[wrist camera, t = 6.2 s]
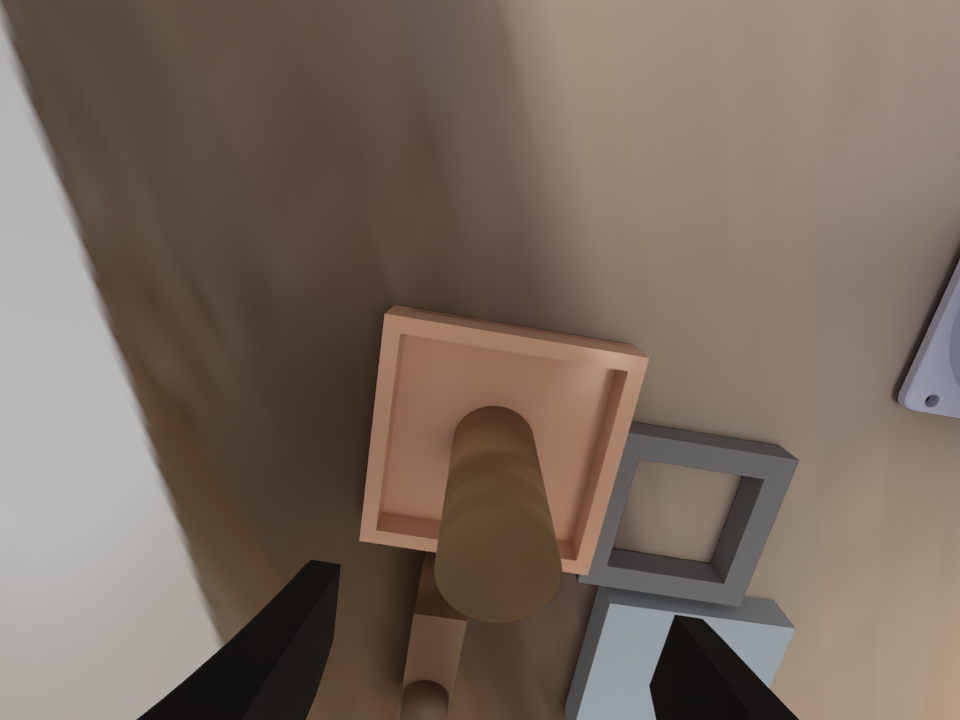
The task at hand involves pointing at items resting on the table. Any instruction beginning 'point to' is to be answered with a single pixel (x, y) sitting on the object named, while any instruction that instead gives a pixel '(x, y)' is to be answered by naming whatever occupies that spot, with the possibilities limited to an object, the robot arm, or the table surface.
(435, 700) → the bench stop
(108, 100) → the table surface
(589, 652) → the plate
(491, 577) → the dowel
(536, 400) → the tray
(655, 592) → the socket
